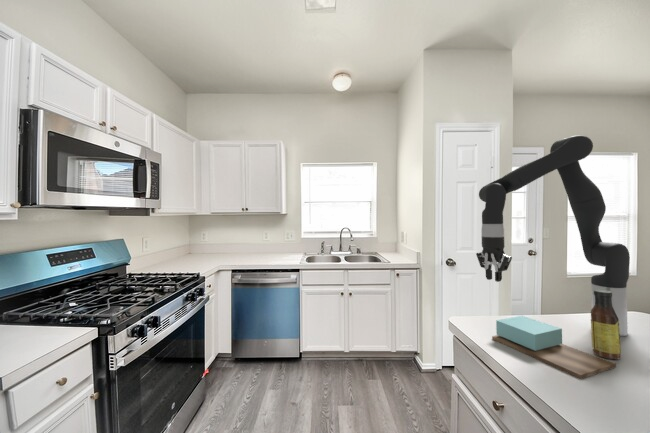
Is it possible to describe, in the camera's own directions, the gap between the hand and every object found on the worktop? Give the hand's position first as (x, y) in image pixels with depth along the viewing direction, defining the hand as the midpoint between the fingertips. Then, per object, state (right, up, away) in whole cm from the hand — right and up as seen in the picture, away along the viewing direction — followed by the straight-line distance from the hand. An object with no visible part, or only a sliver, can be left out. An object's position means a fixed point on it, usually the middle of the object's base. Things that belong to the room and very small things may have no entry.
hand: (493, 280), depth 106 cm
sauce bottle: (+22, -19, -20) cm, 36 cm away
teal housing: (+4, -17, -12) cm, 22 cm away
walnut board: (+6, -19, -18) cm, 27 cm away
